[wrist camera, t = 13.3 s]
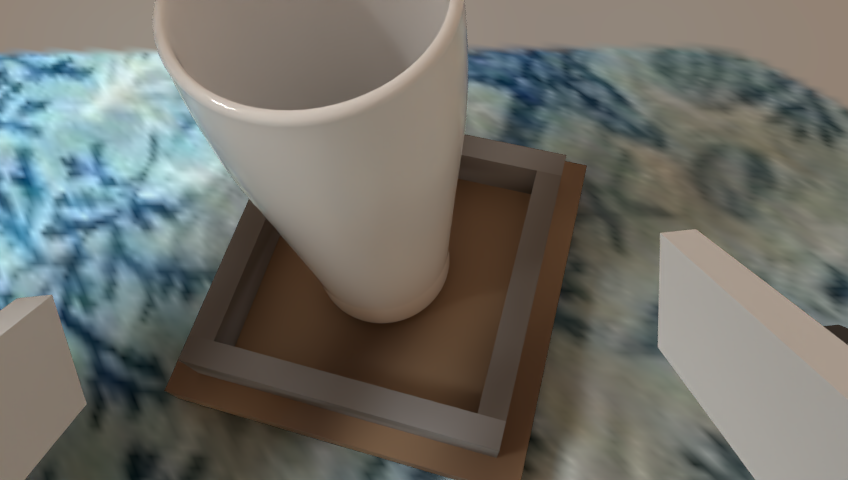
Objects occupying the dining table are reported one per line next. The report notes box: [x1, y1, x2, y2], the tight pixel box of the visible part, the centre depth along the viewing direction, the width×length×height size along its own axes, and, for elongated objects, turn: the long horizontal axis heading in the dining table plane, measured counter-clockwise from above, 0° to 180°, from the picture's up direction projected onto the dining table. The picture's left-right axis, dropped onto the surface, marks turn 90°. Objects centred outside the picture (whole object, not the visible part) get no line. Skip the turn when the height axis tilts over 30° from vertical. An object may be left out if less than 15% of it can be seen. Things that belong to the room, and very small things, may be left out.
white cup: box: [153, 0, 468, 324], centre depth 20 cm, size 7×7×15 cm
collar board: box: [165, 135, 587, 480], centre depth 27 cm, size 14×14×4 cm
